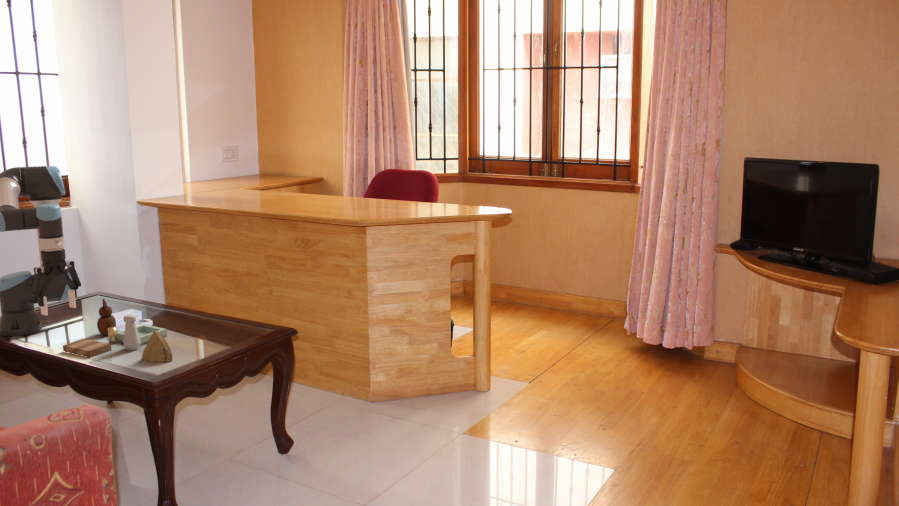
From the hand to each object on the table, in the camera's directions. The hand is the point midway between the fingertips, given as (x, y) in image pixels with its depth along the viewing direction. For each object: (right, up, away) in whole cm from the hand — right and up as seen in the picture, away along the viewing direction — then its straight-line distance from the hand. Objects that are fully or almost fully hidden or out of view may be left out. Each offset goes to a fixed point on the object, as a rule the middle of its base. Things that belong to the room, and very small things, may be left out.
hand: (59, 311), depth 267 cm
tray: (+18, -13, +27) cm, 35 cm away
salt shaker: (+20, -15, +15) cm, 29 cm away
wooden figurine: (+3, -12, +32) cm, 34 cm away
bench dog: (+10, -14, +21) cm, 27 cm away
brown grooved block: (+4, -16, +12) cm, 21 cm away
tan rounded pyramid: (+34, -18, +3) cm, 38 cm away
